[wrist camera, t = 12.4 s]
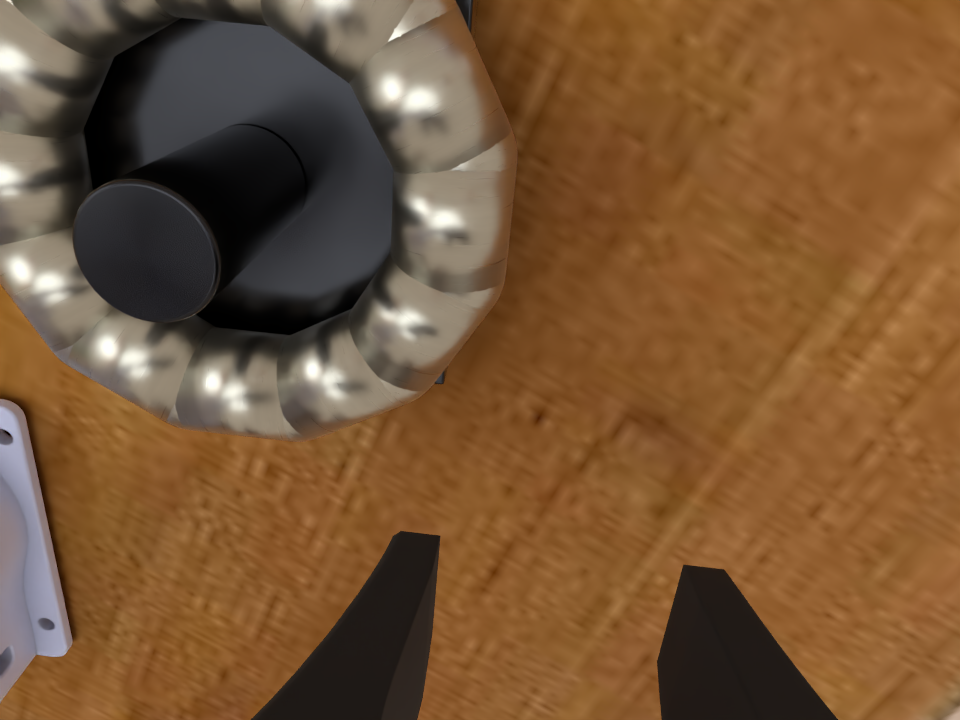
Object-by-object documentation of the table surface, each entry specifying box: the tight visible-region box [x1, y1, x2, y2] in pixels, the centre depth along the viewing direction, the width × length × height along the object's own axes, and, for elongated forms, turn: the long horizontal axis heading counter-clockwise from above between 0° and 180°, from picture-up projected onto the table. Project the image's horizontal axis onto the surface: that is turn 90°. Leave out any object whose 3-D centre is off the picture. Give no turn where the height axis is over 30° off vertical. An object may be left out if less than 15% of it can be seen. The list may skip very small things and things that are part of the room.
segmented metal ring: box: [0, 0, 518, 442], centre depth 15 cm, size 11×11×2 cm
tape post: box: [72, 0, 478, 384], centre depth 15 cm, size 9×9×6 cm
